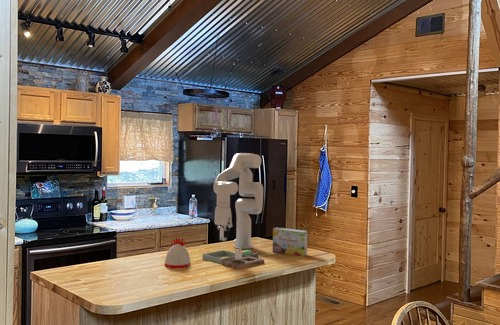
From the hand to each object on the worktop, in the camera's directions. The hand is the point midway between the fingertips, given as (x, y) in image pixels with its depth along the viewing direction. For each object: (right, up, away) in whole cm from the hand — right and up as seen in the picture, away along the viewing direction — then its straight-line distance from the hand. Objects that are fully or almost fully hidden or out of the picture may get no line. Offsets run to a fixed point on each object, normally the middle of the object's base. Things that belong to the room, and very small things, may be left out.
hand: (223, 236), depth 277 cm
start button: (+14, -13, +6) cm, 20 cm away
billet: (0, -2, 0) cm, 2 cm away
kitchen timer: (-24, -14, -12) cm, 31 cm away
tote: (0, -14, 0) cm, 14 cm away
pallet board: (+12, -14, -12) cm, 22 cm away
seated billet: (+9, -13, -15) cm, 22 cm away
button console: (+14, -14, +6) cm, 20 cm away
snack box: (+40, -14, +21) cm, 47 cm away
